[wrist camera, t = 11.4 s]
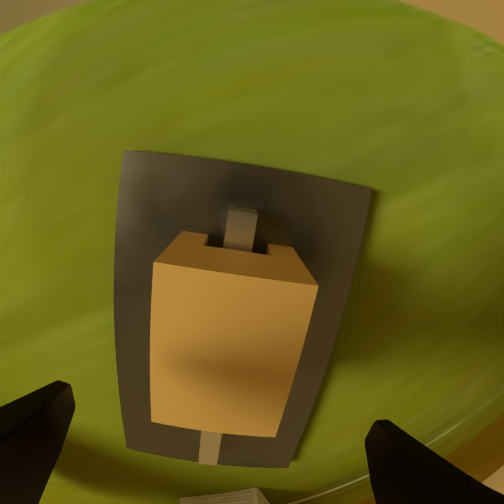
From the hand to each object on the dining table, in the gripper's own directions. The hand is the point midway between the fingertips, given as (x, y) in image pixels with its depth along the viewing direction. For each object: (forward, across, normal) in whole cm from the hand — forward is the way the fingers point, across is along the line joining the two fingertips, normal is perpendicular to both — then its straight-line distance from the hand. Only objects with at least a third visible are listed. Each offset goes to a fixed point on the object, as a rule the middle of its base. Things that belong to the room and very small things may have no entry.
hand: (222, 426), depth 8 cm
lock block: (+8, 0, 0) cm, 8 cm away
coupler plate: (+9, 0, +3) cm, 9 cm away
